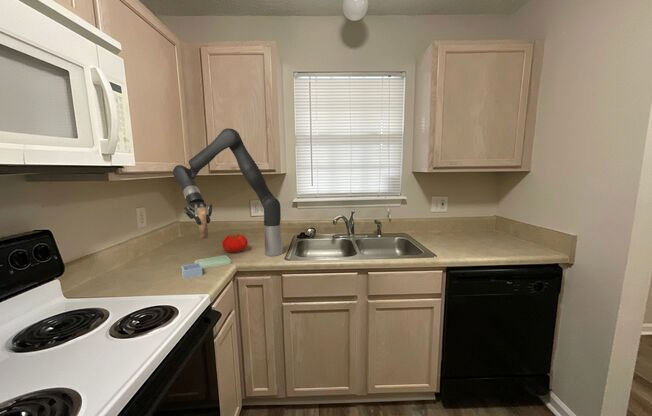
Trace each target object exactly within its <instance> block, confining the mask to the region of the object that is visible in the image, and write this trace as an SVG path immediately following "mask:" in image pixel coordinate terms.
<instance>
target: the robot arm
mask: <svg viewBox="0 0 652 416" xmlns="http://www.w3.org/2000/svg"><path fill="white" fill-rule="evenodd" d="M226 149H230V151H231V152H232V154H233V156H234V157H235V159H236V162H237V165H238V167H239V170H240V172H241V175H243V177H244V179H245V181H246V182H247V183H248V185H249V186H250V187H251V189H252V190H253V191H254V192H255V193H256V196H257V197H258V199H259V201H260V203H261V206H262V207H263V230H264V231H263V232H264V235H263V236H264V253H265V256H267V257H275V256H280V255H283V253H284V251H283V250H284V249H283V237H281V236H282V235H281V234H282V233H281V231H282V230H281V220H282V219H281V218H282V217H281V216H282V214H281V201H279V199H278V198H276V197H275V196H274V195H273V193H272V192H271V190H270V188H269V187H268V185H267V183H266V180H265V178H264V175H263V173H262V171H261V170H260V168H259V166H258V165H257V164H256V162H255V160H254V159H253V157H252V155H251V154H250V153H249V151H248V150H247V148H246V146H245V144H244V141H243V140H242V137H241V135H240V133H239V132H238V131H237V130H236V129H234V128H229V127H228V128H224V129H222V130H221V132H220V133H219V134H218V135H217V137H216V138H215V139H213V141H211V142H210V144H207V146H206V147H204V148H203V149H202V150H200V151H199V152H198V153H196V154H195V155H194V156H193V157H192V158H190V160H188V166H189V167H190V168H188V167H186V166H184V165H181V164H178V165H176V166H174V168H173V170H172V174H173V177H174V179H175V180H176V181H177V183H178V185H179V186H180V188H181V190H182V193H183V197H184V199H185V201H186V203H187V206H185V207H183V212H184V214H185V215H186V216H187V217H188V218H189V219H191V220H192V219H194V220H195V222H196V224H197V225H198V226H199V225H200V224H201V221H200V218H199V216H198V210H197V208H200V207H205V208H206V219H207V225H208V224H210V222H211V216H212V213H213V205H212V204H206V202H205V200H204V198H203V196H202V193H201V191H200V189H199V187H198V185H197V183H196V181H195V180H194V179H196V177H197V175H198V174H199V172H200V171H201V170H202V169H203V168H204V167H206V166H207V165H208V164H209V163H211V162H212V161H213V160H214V159H215V158H216V157H217V156H218V155H219V154H220V153H221V152H223V151H225V150H226ZM207 210H208V211H207Z"/></svg>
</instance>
